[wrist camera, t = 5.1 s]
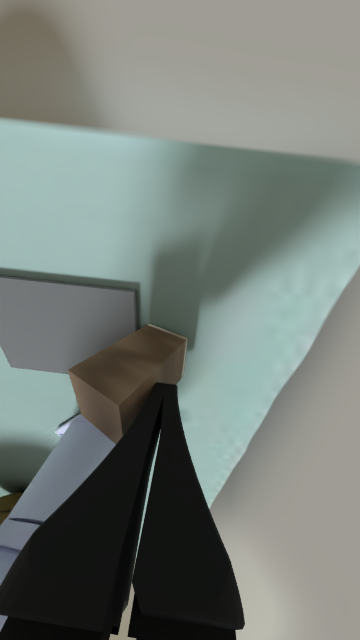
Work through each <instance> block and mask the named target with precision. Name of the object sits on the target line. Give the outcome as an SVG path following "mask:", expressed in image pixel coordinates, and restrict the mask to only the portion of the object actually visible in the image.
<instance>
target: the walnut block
mask: <svg viewBox="0 0 360 640" xmlns="http://www.w3.org/2000/svg"><path fill="white" fill-rule="evenodd" d="M187 343H188V338H186V337H184V336H181V335H178V334H176V333H173V332H170V331H168V330H165V329H162V328H160V327H157V326H154V325H152V324H147V325H145V326H144V327H142V328H140V329H138V330H137V331H135V332H133V333H131V334H130V335H128V336H126V337H124V338H122V339H121V340H119V341H117V342H115V343H114V344H112V345H110V346H108V347H107V348H105V349H103V350H101V351H100V352H98V353H96V354H94V355H93V356H91V357H89V358H87V359H86V360H84V361H82V362H80V363H79V364H77V365H75V366H73V367H72V368H70V369H68V372H69V375H70V379H71V382H72V385H73V389H74V392H75V395H76V399H77V402H78V405H79V409H80V412H81V415H82V416H83V417H85V418H86V419H87V420H88V421H89V422H90V423H92V424H93V425H94V426H95V427H96V428H97V429H99V430H100V431H101V432H102V433H103V434H104V435H106V436H107V437H108V438H109V439H110V440H111V441H113V442H114V443H115V444H117V443H118V441H119V440H120V439H121V438H122V436H123V435H124V434H125V432H126V431H127V430H128V428H129V427H130V425H131V424H132V422H133V421H134V420H135V418H136V417H137V415H138V414H139V412H140V411H141V409H142V407H143V406H144V404H145V403H146V401H147V399H148V397H149V396H150V394H151V392H152V390H153V388H154V386H155V383H157V382H158V383H166V384H174V385H176V384H177V383H178V381H179V380H180V379H181V377H182V376H183V374H184V366H185V358H186V350H187Z"/></svg>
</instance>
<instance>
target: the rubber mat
mask: <svg viewBox="0 0 360 640" xmlns="http://www.w3.org/2000/svg"><path fill="white" fill-rule="evenodd" d="M137 330H138V327H137V299H136V290H131V289H122V288H113V287H104V286H94V285H85V284H76V283H66V282H57V281H48V280H39V279H29V278H20V277H11V276H1V275H0V346H1V348H2V350H3V352H4V354H5V356H6V358H7V360H8V362H9V364H10V366H11V367H14V368H22V369H31V370H39V371H47V372H55V373H63V374H69V372H68V369H70V368H72V367H73V366H75V365H77V364H79V363H80V362H82V361H84V360H86V359H87V358H89V357H91V356H93V355H94V354H96V353H98V352H100V351H101V350H103V349H105V348H107V347H108V346H110V345H112V344H114V343H115V342H117V341H119V340H121V339H122V338H124V337H126V336H128V335H130V334H131V333H133V332H135V331H137Z"/></svg>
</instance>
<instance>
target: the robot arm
mask: <svg viewBox="0 0 360 640" xmlns="http://www.w3.org/2000/svg"><path fill="white" fill-rule="evenodd" d="M160 430H161V432H160ZM55 433H56V434H58V435H59V436H61V438H60V440H59V441H58V443H57V444H56V446H55V447H54V449H53V450H52V452H51V453H50V455H49V456H48V458H47V459H46V461H45V462H44V464H43V465H42V467H41V468H40V470H39V471H38V473H37V474H36V475H35V477H34V478H33V480H32V481H31V483H30V484H29V486H28V487H27V489H26V490H25V492H24V493H23V495H22V496H21V498H20V499H19V501H18V502H17V504H16V505H15V507H14V508H13V510H12V511H11V513H10V514H9V516H8V517H7V519H5V520H4V522H3V523H2V524H1V525H0V640H109V637H110V634H115V635H118V632H119V627H120V622H121V617H122V613H123V611H124V610H125V608H126V607H127V605H128V600H129V594H130V588H131V582H132V584H133V588H134V592H135V594H134V601H133V607H132V612H131V619H130V624H129V630H128V637H132V638H137V639H136V640H236V633H235V630H239V629H243V627H244V625H245V622H244V614H243V608H242V603H241V599H240V594H239V590H238V586H237V582H236V579H235V576H234V572H233V568H232V565H231V561H230V559H229V556H228V554H227V551H226V549H225V547H224V544H223V542H222V540H221V538H220V535H219V533H218V530H217V528H216V525H215V523H214V520H213V518H212V515H211V513H210V510H209V508H208V505H207V503H206V500H205V497H204V494H203V492H202V489H201V486H200V483H199V481H198V478H197V475H196V472H195V469H194V466H193V463H192V460H191V456H190V453H189V450H188V446H187V443H186V439H185V435H184V431H183V426H182V422H181V417H180V411H179V405H178V396H177V385H174V384H166V383H158V382H157V383H155V386H154V388H153V390H152V392H151V394H150V396H149V397H148V399H147V401H146V403H145V404H144V406H143V407H142V409H141V411H140V412H139V414H138V415H137V417H136V418H135V420H134V421H133V422H132V424H131V425H130V427H129V428H128V430H127V431H126V432H125V434H124V435H123V436H122V438H121V439H120V440H119V441H118V443H117V444H115V443H114V442H113V441H111V440H110V439H109V438H108V437H107V436H106V435H104V434H103V433H102V432H101V431H100V430H99V429H97V428H96V427H95V426H94V425H93V424H92V423H90V422H89V421H88V420H87V419H86V418H85V417H83V416H82V415H81V414H79V415H78V416H76V417H74V418H73V419H71V420H70V421H68V422H67V423H65V424H64V425H62V426H60V427H59V428H57V429H56V431H55ZM159 434H160V439H159V445H158V450H157V456H156V461H155V466H154V472H153V477H152V482H151V487H150V493H149V498H148V503H147V508H146V513H145V518H144V523H143V528H142V533H141V538H140V543H139V548H138V553H137V558H136V552H137V546H138V540H139V534H140V528H141V522H142V516H143V510H144V505H145V499H146V493H147V487H148V482H149V476H150V471H151V466H152V462H153V458H154V454H155V450H156V446H157V442H158V438H159ZM135 558H136V563H135ZM134 564H135V569H134ZM133 570H134V573H133ZM132 576H133V578H132Z"/></svg>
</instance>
